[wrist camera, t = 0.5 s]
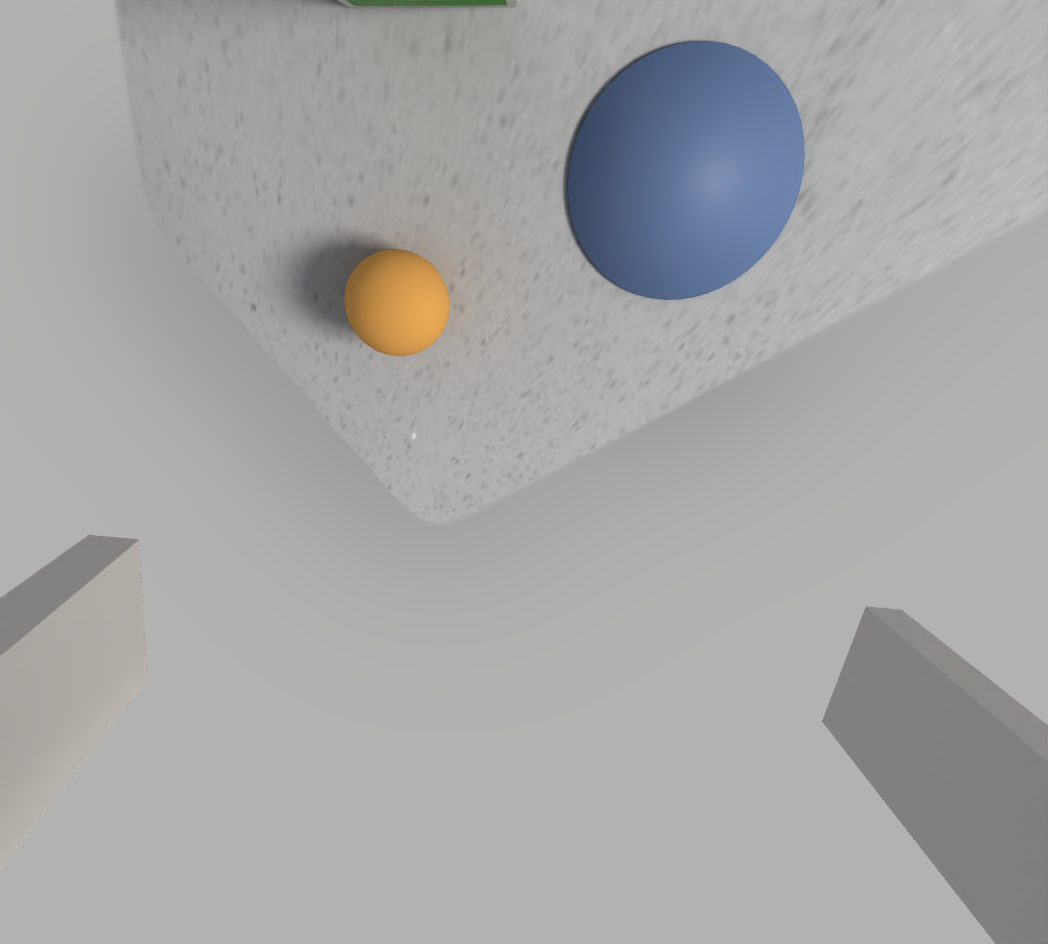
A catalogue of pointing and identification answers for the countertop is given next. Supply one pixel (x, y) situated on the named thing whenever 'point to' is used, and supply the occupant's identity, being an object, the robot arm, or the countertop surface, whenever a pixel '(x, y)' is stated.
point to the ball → (397, 302)
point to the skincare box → (428, 3)
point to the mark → (686, 170)
